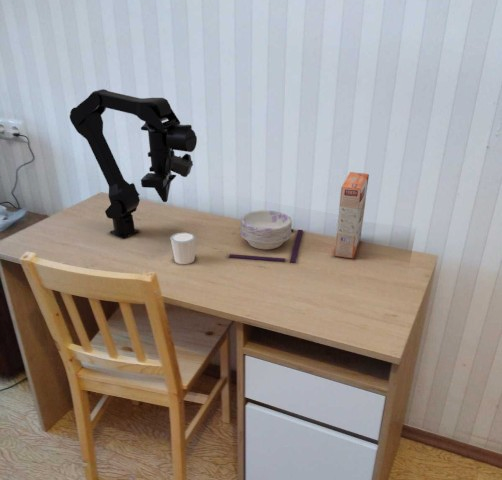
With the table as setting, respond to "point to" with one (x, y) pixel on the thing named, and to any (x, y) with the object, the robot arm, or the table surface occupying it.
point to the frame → (292, 260)
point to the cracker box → (351, 214)
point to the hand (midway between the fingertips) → (165, 201)
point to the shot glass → (183, 247)
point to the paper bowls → (265, 228)
